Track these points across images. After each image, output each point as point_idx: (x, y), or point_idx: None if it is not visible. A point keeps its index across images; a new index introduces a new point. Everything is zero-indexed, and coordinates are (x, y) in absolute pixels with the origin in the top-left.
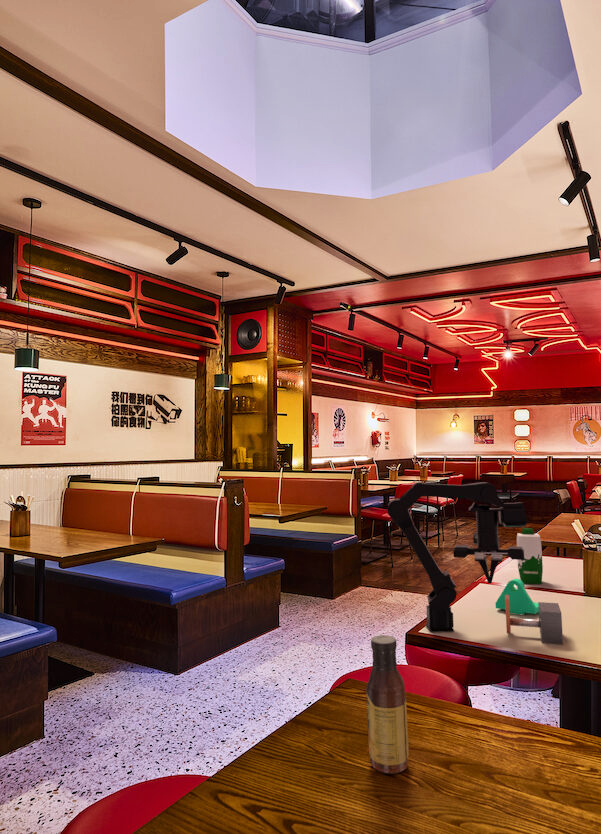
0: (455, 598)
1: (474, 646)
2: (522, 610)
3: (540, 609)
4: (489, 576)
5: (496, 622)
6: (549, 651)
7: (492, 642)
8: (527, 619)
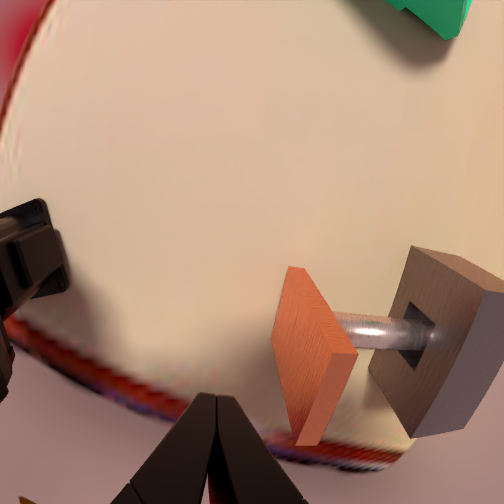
0: (11, 372)
1: (149, 415)
2: (407, 3)
3: (426, 415)
4: (212, 447)
5: (266, 110)
6: (355, 421)
7: (206, 385)
8: (376, 345)
